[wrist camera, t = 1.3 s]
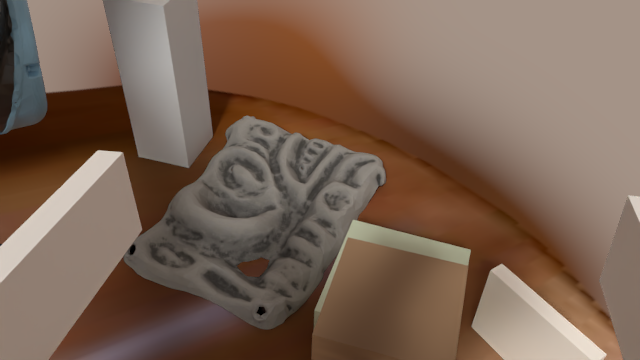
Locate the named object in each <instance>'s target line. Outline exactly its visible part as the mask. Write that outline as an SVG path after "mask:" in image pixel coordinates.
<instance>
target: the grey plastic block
mask: <svg viewBox="0 0 640 360" xmlns="http://www.w3.org/2000/svg"><path fill="white" fill-rule="evenodd" d="M103 3H104V8H105V12H106V16H107V21H108V25H109V30H110V34H111V38H112V43H113V47H114V51H115V56H116V60H117V64H118V69H119V73H120V77H121V82H122V86H123V91H124V95H125V99H126V104H127V108H128V112H129V117H130V121H131V125H132V130H133V134H134V139H135V143H136V147H137V152H138V156H139V157H142V158H146V159H151V160H155V161H160V162H164V163H169V164H173V165H178V166H182V167H186V168H189V167H190V166H191V165H192V163H193V162H194V161H195V160H196V158H197V157H198V156H199V154H200V153H201V152H202V150H203V149H204V148H205V146H206V145H207V144H208V142H209V141H210V140H211V139H212V137H213V131H212V123H211V114H210V106H209V97H208V89H207V80H206V73H205V64H204V55H203V46H202V39H201V29H200V21H199V13H198V4H197V0H103Z"/></svg>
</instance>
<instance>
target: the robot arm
mask: <svg viewBox="0 0 640 360" xmlns="http://www.w3.org/2000/svg"><path fill="white" fill-rule="evenodd" d="M39 63H40V62H39V58H38V51H37V46H36V41H35V36H34V31H33V27H32V22H31V17H30V12H29V8H28V3H27V0H0V134H6V133H8V132H9V131H10V130H13V129H17V128H21V127H25V126H30V125H34V124H36V123H38V122H40V121H41V120H42V119H43V118H44V116H45V115H46V112H47V99H46V93H45V87H44V82H43V77H42V72H41V68H40V64H39ZM141 231H142V227H141V223H140V219H139V215H138V211H137V207H136V203H135V199H134V195H133V191H132V187H131V183H130V179H129V175H128V171H127V167H126V163H125V159H124V155H123V152H112V151H101V150H98V151H97V152H96V153H95V154H94V155H93V156H92V157H91V158H90V159H89V160H88V161H86V162H85V163H84V164H83V165H82V166H81V167H80V168H79V169H78V170H77V171H76V172H75V173H74V174H73V175H72V176H71V177H70V178H69V179H68V180H67V181H66V182H65V183H64V184H63V185H62V186H61V187H60V188H59V189H58V190H57V191H56V192H55V193H54V194H53V195H52V196H51V197H50V198H49V199H48V200H47V201H46V202H45V203H44V204H43V205H42V206H41V207H40V208H39V209H38V210H37V211H36V212H35V213H34V214H33V215H32V216H31V217H30V218H29V219H28V220H27V221H26V222H25V223H24V224H23V225H22V226H21V227H19V228H18V229H17V230H16V231H15V232H14V233H13V234H12V235H11V236H10V237H9V238H8V239H7V240H6V241H5V242H4V243H3V244H0V360H48V359H49V358H50V357H51V355H52V354H53V353H54V351H55V350H56V348H57V347H58V346H59V344H60V343H61V341H62V340H63V339H64V337H65V336H66V335H67V333H68V332H69V330H70V329H71V328H72V326H73V325H74V323H75V322H76V321H77V319H78V318H79V317H80V315H81V314H82V312H83V311H84V310H85V308H86V307H87V306H88V304H89V303H90V301H91V300H92V299H93V297H94V296H95V294H96V293H97V292H98V290H99V289H100V288H101V286H102V285H103V283H104V282H105V281H106V279H107V278H108V277H109V275H110V274H111V272H112V271H113V270H114V268H115V267H116V265H117V264H118V263H119V261H120V260H121V259H122V257H123V256H124V254H125V253H126V252H127V250H128V249H129V248H130V246H131V245H132V243H133V242H134V241H135V239H136V238H137V236H138V235H139V234H140V232H141ZM599 281H600V284H601V287H602V290H603V294H604V297H605V300H606V303H607V307H608V310H609V314H610V317H611V320H612V323H613V327H614V330H615V333H616V337H617V340H618V343H619V347H620V350H621V353H622V356H623V360H640V197H639V196H628V197H627V200H626V203H625V206H624V209H623V212H622V215H621V218H620V221H619V224H618V227H617V230H616V233H615V236H614V239H613V242H612V245H611V248H610V251H609V253H608V256H607V259H606V262H605V265H604V269H603V271H602V274H601V277H600V280H599Z"/></svg>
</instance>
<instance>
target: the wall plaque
mask: <svg viewBox="0 0 640 360" xmlns="http://www.w3.org/2000/svg"><path fill="white" fill-rule="evenodd" d="M225 135H226V138H227V143H226V145H225V146H224V148H223V150H221V151H219V152H218V153H217V154H216V155H215V156H214V157H212V159H211V161H210V162H209V164H208V166H207V168H206V170H205V172H204V173H203V174H202V175H201V176H200V177H199V178H198V180H196V181H195V182H194V183H192V184H189V185H188V186H186V187H184V188H182V189H181V190H180V191H179V192H178V193H177V194H176V195H175V197H174V198H173V199H172V201H171V202H170V204H169V206H168V210H167V212H166V213H165V215H164V217H163V218H162V219H161V220H160V221H159V222H158V223H157V224H156V225H155V226H153V227H152V228H151V229H149V230H148V231H146V232H145V233H143V234H142V235H140V236H139V237H137V238H136V239H135V241H134V242H133V243H132V245H131V246H130V248H129V249H128V250H127V252H126V253H125V254H124V256H123V257H124V261H125V263H126V264H127V265H129V266H130V267H131V268H133V269H134V271H135V272H136V273H137V274H138V275H140V276H142V277H143V278H145V279H148V280H151V281H153V282H156V283H158V284H161V285H163V286H166V287H168V288H172V289H177V290H181V291H185V292H188V293H191V294H193V295H196V296H200V297H202V298H204V299H206V300H209V301H211V302H213V303H215V304H217V305H219V306H221V307H223V308H224V309H226V310H227V311H229V312H231V313H232V314H234V315H236V316H237V317H239V318H240V319H242V320H244V321H245V322H247V323H249V324H250V325H253V326H255V327H258V328H260V329H273V328H275V327H276V326H278V325H280V324H282V323H284V321H285V320H286V318H288V317H289V316H290V315H291V314H293V313H294V312H296V311H297V310H298V309H299V308H300V307H301V306H302V305H303V304H304V303H305V302H306V301H307V299H308V298H309V297H310V295H311V294H312V293H313V291H314V290H315V289H316V287H317V286H318V284H319V283H320V282H321V280H322V278H323V274H324V272H325V270H326V268H327V267H328V266H329V265H330V263H331V262H332V261H333V259H334V258H335V257H336V256H337V254H338V253H339V251H340V249H341V247H342V244H343V242H344V239H345V237H346V235H347V232H348V230H349V228H350V225H351V223H352V221H353V220H357V219H358V216H359V215H360V213H361V212H362V211H363V210H364V209H365V207H366V206H367V204H368V202H369V201H370V199H371V198H372V196H373V195H374V193H375V191H376V189H377V188H378V186H382V185H383V184H385V182H386V174H385V170H384V168H383V163H382V161H381V160H380V159H379V158H378V157H377V156H375V155H372V154H368V153H361V152H353V151H351V150H349V149H347V148H345V147H343V146H341V145H333V144H331V143H329V142H327V141H324V140H320V139H312V140H308V139H307V138H305V137H304V136H302V135H301V134H300V133H294V134H290V133H288V132H287V131H285V130H283V129H282V128H280V127H278V126H276V125H274V124H273V123H270V122H266V121H263V120H258V119H255V117H249V116H244V117H243V118H242V119H241V120H238V121H236V122H235V123H234V124H233V125H231V126H230V127H229V128H228V129H227V130H226V133H225ZM302 168H303V170H302ZM231 169H232V171H231ZM134 246H135V247H136V250H135V252H134V254H133V255H131V254H130V250H131V249H132V248H133V247H134ZM260 257H262V258H264V259H268V260H269V263H268V267H267V269H266V270H265V271H264V273H263V274H262V275H261V276H260V277H248V276H246V275H245V274H243V273H242V272H241V271H240V270H239V268H238V267H237V265H239V264H240V263H241V262H245V261H252V260H256V259H258V258H260ZM259 307H264V308H265V310H266V313H264V314H263V315H261V316H260V315H259V314H258V313H256V312H257V310H258V309H259Z"/></svg>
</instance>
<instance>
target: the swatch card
mask: <svg viewBox="0 0 640 360" xmlns="http://www.w3.org/2000/svg"><path fill="white" fill-rule="evenodd" d="M471 327H472V328H473V329H474V330H475V331H476V332H477V333H478V334H479V335H480V336H481V337H482V338H483V339H484V340H485V341H486V342H487V343H488V344H489V345H490V346H491V347H492V348H493V349H494V350H495V351H496V352H497V353H498V354H499V355H500V356H501V357H502V358H503V359H504V360H603V359H604V358H605V356H606V355H607V354H606V353H604V352H603V351H602V350H601V349H600V348H599V347H597V346H596V345H595V344H594V343H593V342H592V341H591V340H589V339H588V338H587V337H586V336H585V335H584V334H582V333H581V332H580V331H579V330H578V329H577V328H576V327H574V326H573V325H572V324H571V323H570V322H569V321H568V320H566V319H565V318H564V317H563V316H562V315H561V314H559V313H558V312H557V311H556V310H555V309H554V308H553V307H551V306H550V305H549V304H548V303H547V302H546V301H544V300H543V299H542V298H541V297H540V296H539V295H538V294H536V293H535V292H534V291H533V290H532V289H531V288H530V287H528V286H527V285H526V284H525V283H524V282H523V281H521V280H520V279H519V278H518V277H517V276H516V275H515V274H513V273H512V272H511V271H510V270H509V269H508V268H506V267H505V266H504V265H503V264H500V265H499V266H497V267H495V268H493V269H492V270H490V273H489V276H488V279H487V282H486V285H485V288H484V291H483V294H482V297H481V299H480V302H479V305H478V308H477V311H476V314H475V317H474V320H473V323H472V326H471Z"/></svg>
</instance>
